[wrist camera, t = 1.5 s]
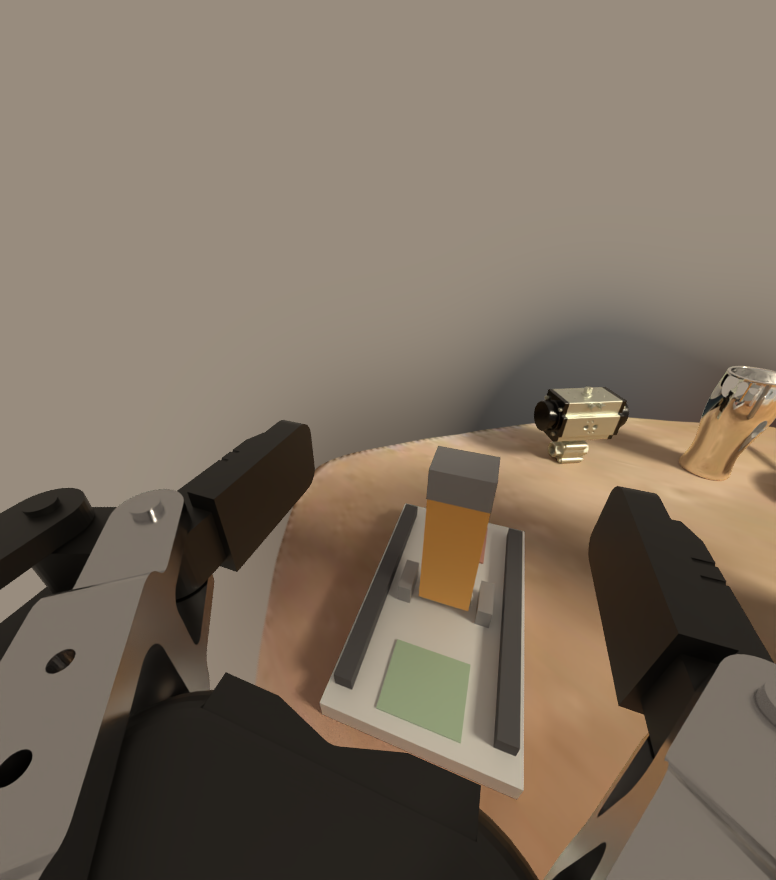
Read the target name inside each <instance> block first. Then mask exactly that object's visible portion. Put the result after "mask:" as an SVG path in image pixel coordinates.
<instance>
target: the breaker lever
mask: <svg viewBox="0 0 776 880" xmlns="http://www.w3.org/2000/svg"><path fill="white" fill-rule="evenodd" d="M499 465H500V457H496V456H490V455H485V454H479V453H474V452H468V451H463V450H458V449H452V448H447V447H441V446H438V448H437V450H436V453H435V455H434V458H433V461H432V463H431V466H430V468H429V475H428V487H427V498H426V499H427V507H426V518H425V530H424V541H423V553H422V564H421V576H420V583H419V588H418V591H419V596H420V597H423V598H426V599H430V600H433V601H436V602H439V603H443V604H446V605H449V606H452V607H455V608H459V609H462V610H465V611H468V610H469V607H471V605H472V600H473V588H474V583H475V579H476V575H477V570H478V566H479V561H480V557H481V553H482V548H483V544H484V539H485V535H486V531H487V526H488V522H489V517H490V514H491V510H492V505H493V501H494V497H495V492H496V488H497V483H498V474H499Z"/></svg>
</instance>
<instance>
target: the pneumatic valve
mask: <svg viewBox="0 0 776 880" xmlns="http://www.w3.org/2000/svg"><path fill="white" fill-rule="evenodd" d="M545 399H546V400H545V401H540V402H538V403H537V405H536V407H535V411H534V421H535V424H536V426H537V428H538V429H539V430H541V431H544V432H545V434H546V435H547V436H548V437H549V438H550V439H551V440H552V441H553V442H551V443H550V444H549V446H548V452H549V454H550V455H551V456H552V457H556V458H557V461H558V462H559V463H576V462H581V461H582V460H583V458H582V456H583V455H585V454H587V452H588V444H587V443H586V442H585V441H586V440H599V439H611V438H612V436H613V435H617V433H618V430H619V428H620V427H621V426H623V425H624V424H625V423H626V421H627V419H628V415H629V410H628V406H627V404H626V402H627V401H626V400H625V399H623V398H621V397H620V396H619V395H617V394H616V393H614V392H612V391H611V390H609V389H608V388H606V387H599V388H592V387H585V388H572V389H549V390H548V393H547V396H545Z"/></svg>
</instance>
